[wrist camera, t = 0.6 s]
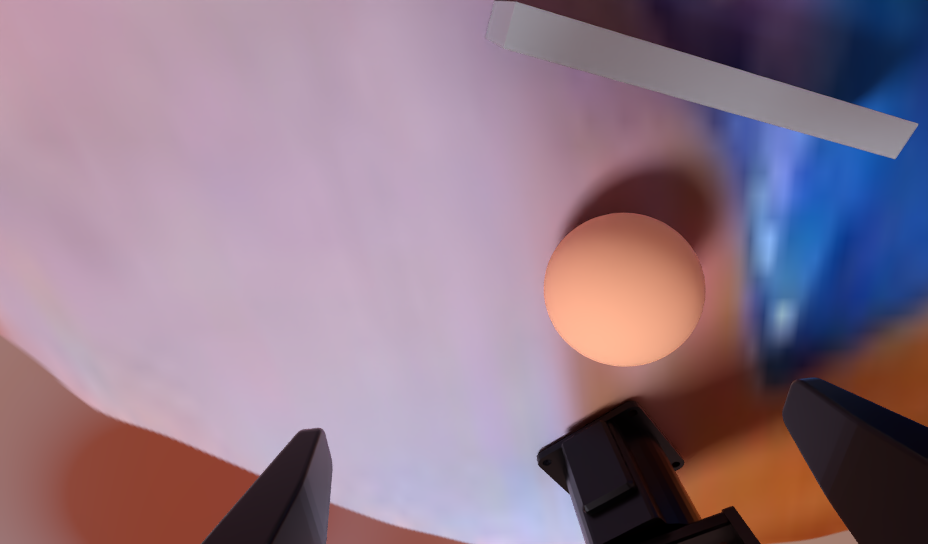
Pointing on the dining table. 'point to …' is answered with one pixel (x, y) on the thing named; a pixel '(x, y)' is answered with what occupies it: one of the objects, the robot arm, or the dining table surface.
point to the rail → (692, 78)
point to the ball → (624, 289)
